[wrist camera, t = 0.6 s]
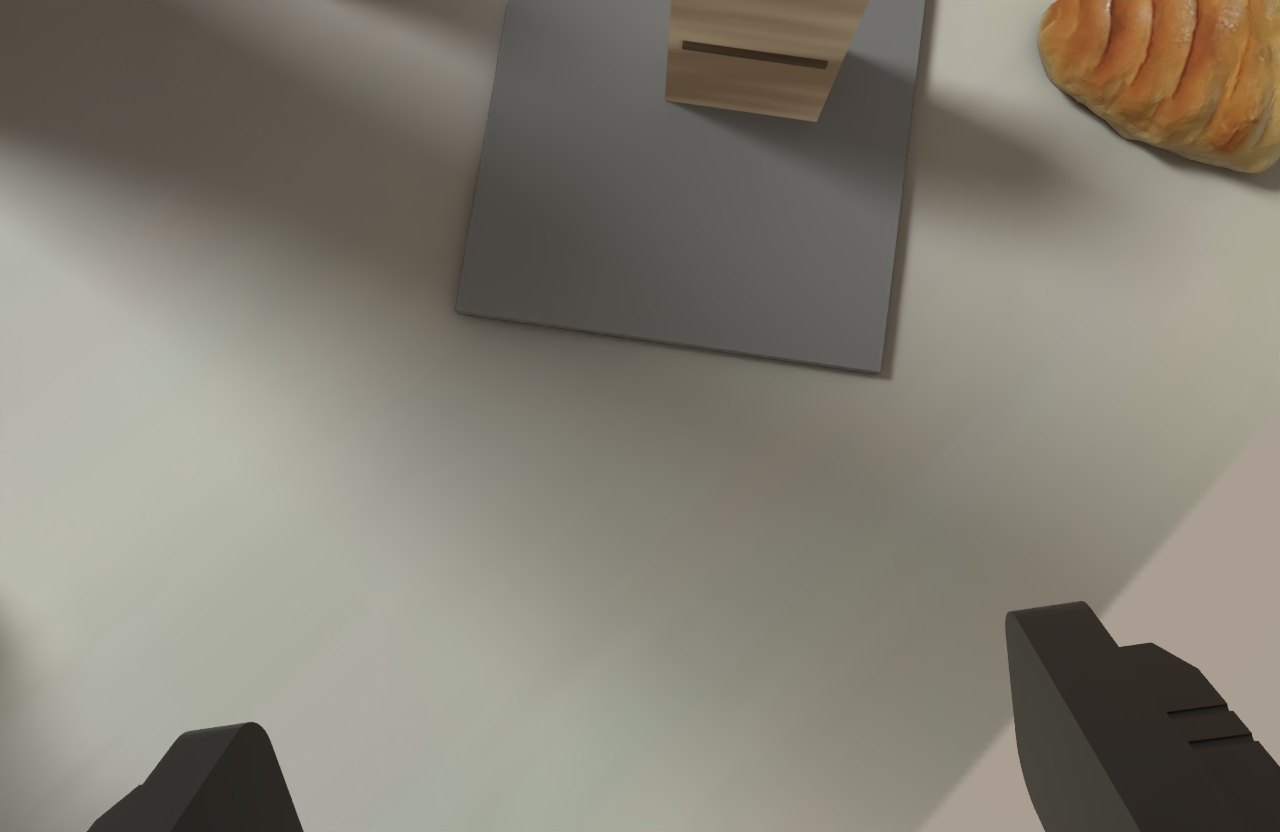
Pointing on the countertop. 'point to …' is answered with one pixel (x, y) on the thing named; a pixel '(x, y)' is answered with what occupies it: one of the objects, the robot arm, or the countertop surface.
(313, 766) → the countertop surface
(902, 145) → the mat
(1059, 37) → the pastry
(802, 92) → the wooden block
